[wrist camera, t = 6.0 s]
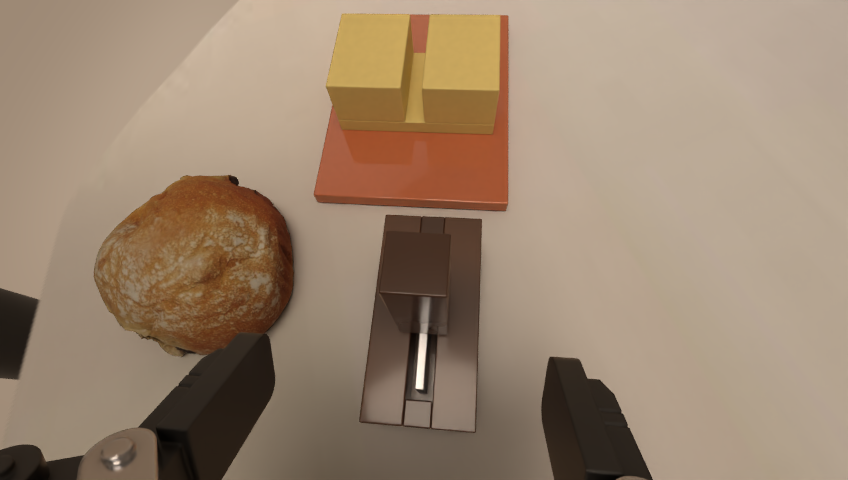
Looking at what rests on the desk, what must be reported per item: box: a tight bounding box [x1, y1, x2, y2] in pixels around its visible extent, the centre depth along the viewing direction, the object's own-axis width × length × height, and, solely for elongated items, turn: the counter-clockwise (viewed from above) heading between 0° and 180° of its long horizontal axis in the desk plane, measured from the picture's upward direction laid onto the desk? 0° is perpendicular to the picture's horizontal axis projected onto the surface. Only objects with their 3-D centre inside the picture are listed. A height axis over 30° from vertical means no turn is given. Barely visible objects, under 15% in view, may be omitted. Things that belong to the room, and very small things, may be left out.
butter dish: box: [314, 15, 508, 211], centre depth 29 cm, size 16×12×1 cm
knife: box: [378, 231, 451, 394], centre depth 18 cm, size 7×2×10 cm, turn 175°
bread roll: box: [94, 175, 294, 357], centre depth 23 cm, size 10×10×8 cm
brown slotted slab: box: [359, 215, 482, 433], centre depth 21 cm, size 10×5×4 cm, turn 175°
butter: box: [326, 14, 500, 134], centre depth 27 cm, size 6×10×4 cm, turn 85°
